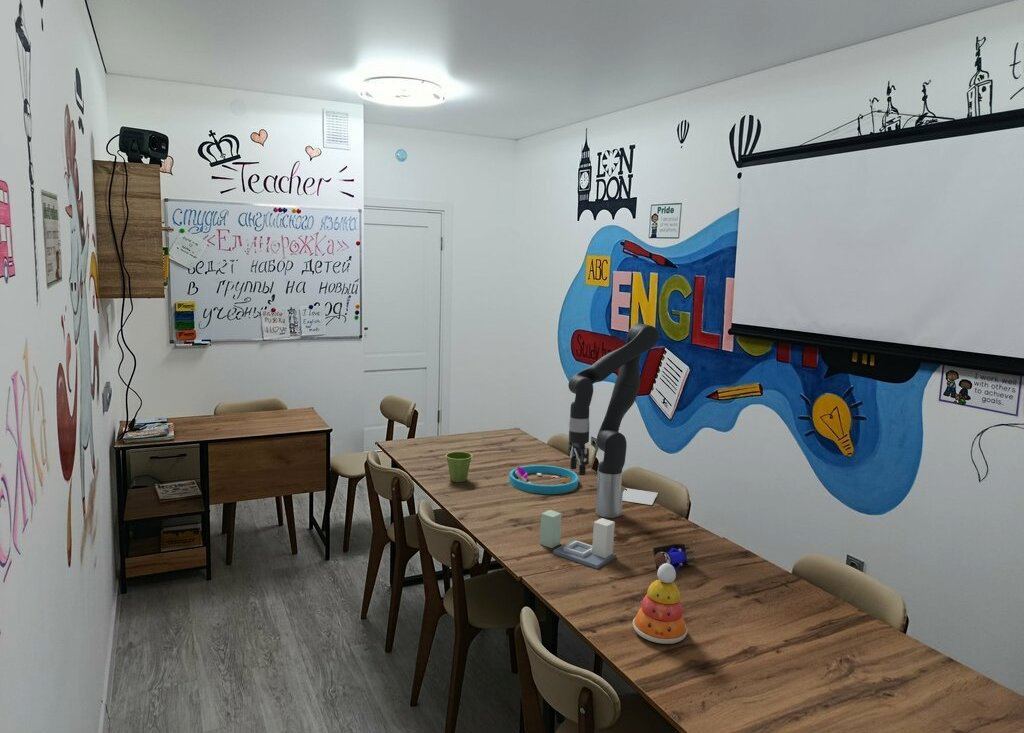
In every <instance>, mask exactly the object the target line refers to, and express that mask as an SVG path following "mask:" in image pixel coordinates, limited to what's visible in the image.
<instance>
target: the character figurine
mask: <svg viewBox="0 0 1024 733" xmlns="http://www.w3.org/2000/svg"><path fill="white" fill-rule="evenodd" d="M652 548H653V556H654V564H655V569H656V570H658V569H659V567H660V566H661V565H663V564H665V563H668V564H670V565H672V566H673V567H674V569H675V571H678V570H679V568H680V567H682V566H688V565H689V563H693V562H694V560H695V557H689V558H687V555H690V554H694V553H695V551H693V550H690V546H689V545H687V546H686V545H685V543H671V544H666V545H661V546H657V547H655V546H654V547H652ZM687 550H688V551H687Z"/></svg>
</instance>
